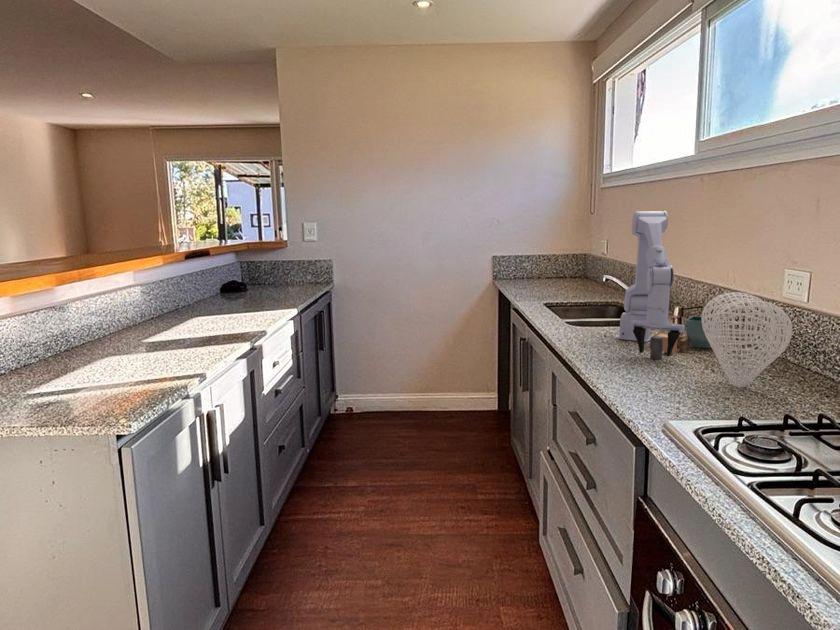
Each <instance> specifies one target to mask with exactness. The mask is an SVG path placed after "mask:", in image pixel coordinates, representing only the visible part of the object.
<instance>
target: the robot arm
mask: <svg viewBox="0 0 840 630" xmlns="http://www.w3.org/2000/svg"><path fill="white" fill-rule="evenodd" d="M668 225H669V214H668V212H667V211H666V210H663V211H661V210H660V211H659V210H658V211H654V210H653V211H651V210H650V211H638V210H635V212H634V213H633V214H632V222H631V234H632V236H636V238H637V250H636V253H637V254H636V264H635V265H636V267H635V279H634V284H632V285H631V286H629V287H627V288H626V289H625V294H624V300H623V309H624V311H625V312H622V314H621V316H620V319H619V320H620V321H619V333H618V334H619V336H618V339H619V340H627V341H634V342H637V344H638V345H637V346H638V353H640V354H642V353H644V352H645V343H648V342H650V337H651V330H659V331H668V332H667V334H668V348H667V354H666V356H667V357H671V356H672V354H671V353H672V350H673V347H674V344H675V342H676V340H677V338H678V337H679V336H681V333H684V332H685V330H686V329H685V327H686V326H685V324H679V323H673V322H669V314H670V313H669V312H670V310H669V309H670V295H671V294H670V292H671V287H672V286H673V283H674V277H675V274H674V273H675V272H674V267H673V266H672V264H671V263H670V262H669V255H668V250H667V248H665V247H664V246H663V234H664V233H665V231H666V230H667V228H668Z"/></svg>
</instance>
